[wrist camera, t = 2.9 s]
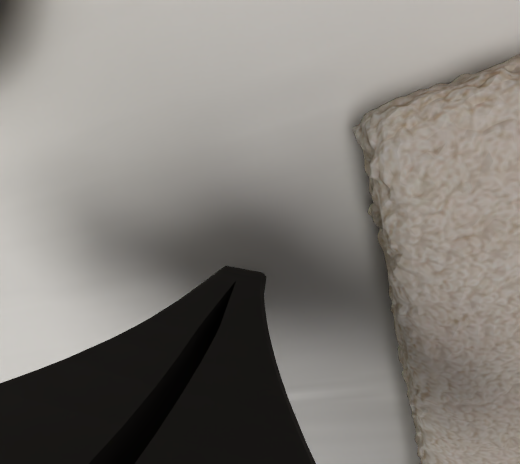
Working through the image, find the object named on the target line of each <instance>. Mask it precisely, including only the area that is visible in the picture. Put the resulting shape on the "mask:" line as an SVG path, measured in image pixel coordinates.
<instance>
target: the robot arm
mask: <svg viewBox="0 0 520 464" xmlns="http://www.w3.org/2000/svg"><path fill="white" fill-rule="evenodd" d="M265 282H266V276H265V275H264V273H261V272H256V271H251V270H245V269H240V268H235V267H229V266H225V267H223V268H222V269H221V270H219V271H218V272H217V273H215V274H214V275H213V276H211V277H210V278H209V279H207V280H206V281H205V282H203V283H202V284H201V285H199V286H198V287H197V288H195V289H194V290H192V291H191V292H189V293H188V294H187V295H185V296H184V297H182V298H181V299H179V300H178V301H177V302H175V303H173V304H172V305H170V306H169V307H167V308H166V309H164V310H162V311H161V312H159V313H158V314H156V315H154V316H153V317H151V318H149V319H148V320H146V321H144V322H142V323H141V324H139V325H137V326H135V327H133V328H131V329H129V330H127V331H125V332H123V333H122V334H120V335H118V336H116V337H114V338H111V339H109V340H107V341H105V342H103V343H100V344H98V345H96V346H94V347H91V348H89V349H87V350H85V351H82V352H80V353H78V354H76V355H73V356H71V357H69V358H67V359H64V360H62V361H59V362H57V363H54V364H51V365H49V366H46V367H44V368H41V369H39V370H36V371H33V372H31V373H28V374H25V375H22V376H20V377H17V378H14V379H11V380H9V381H6V382H3V383H0V464H316V463H315V461H314V459H313V457H312V454H311V452H310V450H309V448H308V446H307V443H306V441H305V439H304V436H303V434H302V431H301V429H300V426H299V424H298V422H297V419H296V417H295V414H294V412H293V409H292V407H291V404H290V402H289V399H288V397H287V394H286V391H285V388H284V385H283V382H282V379H281V376H280V373H279V370H278V366H277V363H276V360H275V356H274V352H273V349H272V345H271V340H270V336H269V331H268V326H267V320H266V313H265V305H264V290H265Z"/></svg>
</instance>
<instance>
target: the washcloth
mask: <svg viewBox="0 0 520 464" xmlns="http://www.w3.org/2000/svg"><path fill="white" fill-rule="evenodd" d="M353 131H354V133H355V136H356V140H357V142H358V143H359V145H360V146H361V148H362V149H363V152H364V157H365V165H364V166H365V172H366V173H367V175H368V176H369V177H370V180H369V193H370V194H371V195H372V201H374V203H373V204H371V205H370V208H369V210H368V214H369V215H370V216H372V218H373V222H374V223H375V224H376V225H377V226H378V227H379V233H378V237H377V238H378V241H379V243H380V245H381V247H382V249H383V252H384V254H385V261H386V265H387V271H388V281H389V283H390V286H389V297H390V299H391V300H392V306H391V309H390V310H391V311H392V313H393V315H394V328H395V333H396V336H397V340H398V344H399V346H398V357H399V361H400V362H401V364H402V365H403V369H404V370H403V372H402V376H403V378H404V380H405V382H406V384H407V388H408V391H407V397H408V398H409V401H410V404H409V405H410V406H411V410H412V417H413V418H414V425H415V428H416V435H415V441H416V443H417V444H418V452H417V454H418V456H419V457H420V459H421V464H520V54H518V55H516V56H515V57H513V58H511V59H509V60H508V61H506V62H503V63H501V64H498V65H495V66H493V67H491V68H489V69H486V70H483V71H481V72H478V73H476V74H463V75H460V76H459V77H458V78H456V79H455V80H454V81H453V82H451V83H449V84H442V83H440V84H436V85H434V86H432V87H431V88H429V89H421V90H418V91H416V92H413V93H411V94H409V95H408V96H406V97H399V98H396V99H394V100H392V101H390V102H388V103H386V104H384V105H382V106H380V107H379V108H377V109H374V110H371V111H370V112H368V113H367V114H365V115H364V117H363V119H362V120H361V123H360V125H358V126H355V127H353Z"/></svg>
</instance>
